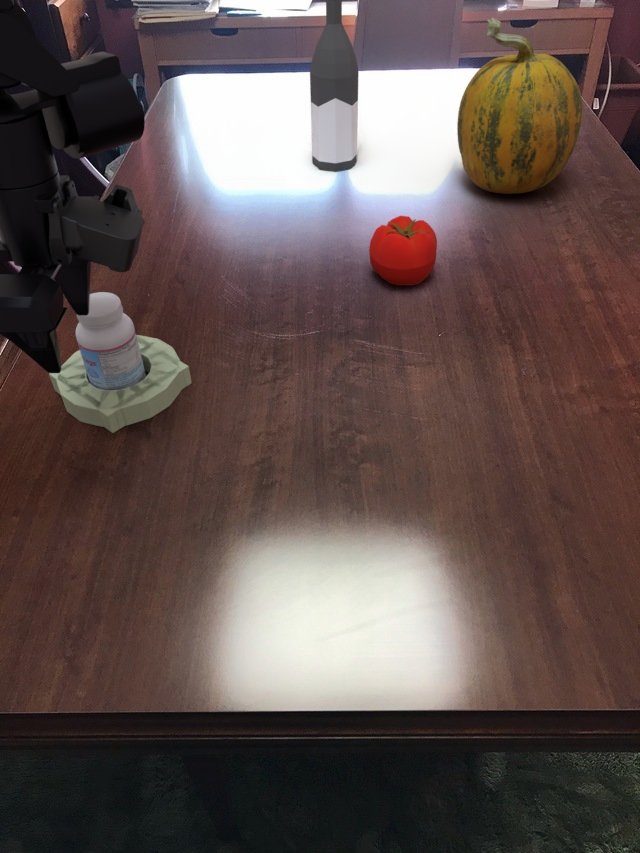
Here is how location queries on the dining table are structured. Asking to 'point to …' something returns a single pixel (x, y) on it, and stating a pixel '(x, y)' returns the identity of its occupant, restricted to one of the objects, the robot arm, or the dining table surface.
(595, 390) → the dining table surface
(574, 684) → the dining table surface
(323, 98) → the wine bottle
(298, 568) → the dining table surface
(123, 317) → the pill bottle
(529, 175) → the pumpkin
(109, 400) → the socket pad
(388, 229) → the tomato
